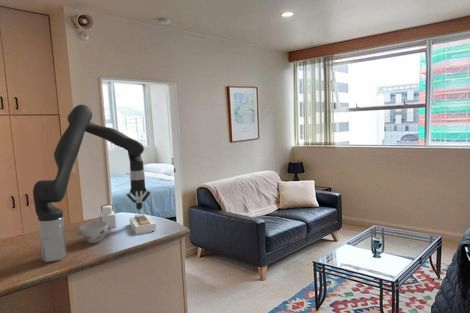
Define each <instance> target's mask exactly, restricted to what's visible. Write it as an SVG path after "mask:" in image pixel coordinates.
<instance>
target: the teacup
mask: <svg viewBox="0 0 470 313" xmlns="http://www.w3.org/2000/svg"><path fill="white" fill-rule="evenodd" d="M108 226H110V227H111V228H108ZM108 229H109V230H108ZM112 229H113V228H112V224H108V223H107V222H101V220H98V221H89V222H86V223H82V225H79V231H80V234H81V236H82V237H83V239H84V240H85V241H87V242H88V243H90V244H96V243H99V242H101V241H102V240H103V238H105V236H106V235H107V234H108V233H110V232H111V231H112Z"/></svg>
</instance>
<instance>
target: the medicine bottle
mask: <svg viewBox="0 0 470 313" xmlns="http://www.w3.org/2000/svg"><path fill="white" fill-rule="evenodd" d="M100 210H101V211H100V215H99V216H100V221H101V222H107V223H108V224H112V229H113V228H116V227H117V223H116V214H115V212H114V206H113V204H104V205H102V206H101V207H100ZM110 228H111V227H110V226H108V229H110Z"/></svg>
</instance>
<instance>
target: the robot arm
mask: <svg viewBox="0 0 470 313" xmlns="http://www.w3.org/2000/svg"><path fill="white" fill-rule="evenodd" d="M92 111H93V110H92V109H91V108H90V107H89V106H88V105H86V104H78V105H75V107H73V108H72V110H71V111H70V112H69V114H68V115H67V117H66V118H67V122H68V126H67V128H66V129H65V130H64V132H63V134H62V135H61V138H60V139H59V141H58V143H57V145H56V147H55V150H54V153H53V158H54V161H55V164H56V168H57V173H56V176H55V178H54V179H53V180H52V179H49V180H48V179H47V180H45V179H43V180H38V181H36V182H35V183H34V185H33V189H32V197H33V203H34V208H35V214H36V216H37V219H38V220H37V221H38V230H39V241H40V252H41V253H40V254H41V261H43V262H45V263H51V262H52V263H53V262H57V261H62V260H63V259H65V257H66V256H67V245H66V244H67V243H66V234H65V232H66V231H65V222H64V211H63V210H62V209H61V208H59V207H56V206H55V205H54V204H53V203H60V202H61V201H63V199H64V198H65V196H66V193H67V189H68V185H69V181H70V178H71V173H72V171H73V167H74V165H75V163H76V162H75V161H76V160H77V157H78V155H79V152H80V149H81V146H82V143H83V140H84V136H85V132H86V133H88V134H91V135H93V136H97V137H99V138H101V139H104V140H106V141H108V142H110V143H111V144H113V145H114V146H117V147H119V148H121V149H124V150H126V151H127V154H128V159H129V171H130V172H129V179H130V180H129V181H130V190H129V192H128V193H126V196H127V197H128V199H130V201H131V202H132V203H134V204H135V205H136V210H138V211H139V210H142V208H143V202H146V200H147V199H148V197H149V196H150V194H151V191H149V190H148V189H147V188H146V180H145V178H146V177H145V170H144V160H143V159H142V154H143V152H144V149H145V148H144V145H143V144H142V143H141V142H139V141H138V140H136V139H134V138H132V137H129V136H128V135H126V134H125V133H123V132H121V131H119V130H118V129H115V128H113V127H107V126H104V125H103V126H102V125H99V124H96V123H94V122H92V119H93V112H92ZM132 195H133V196H132ZM133 197H134V198H133Z"/></svg>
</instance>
